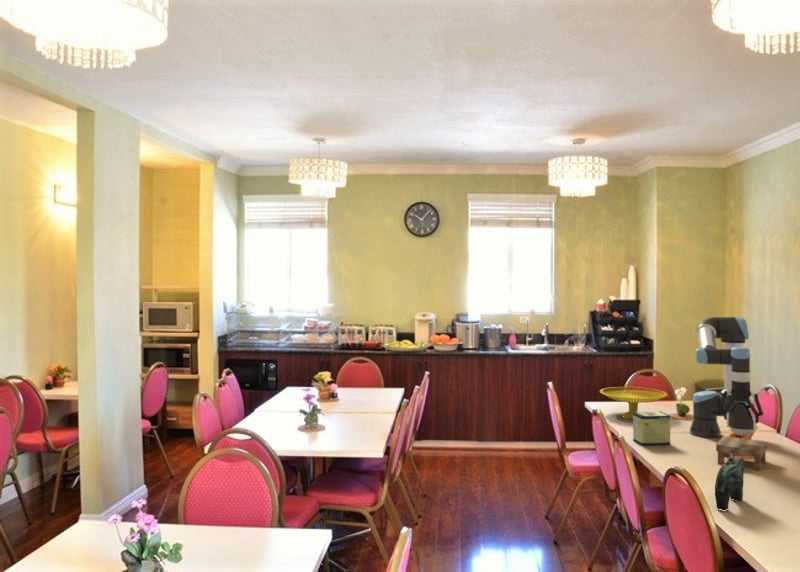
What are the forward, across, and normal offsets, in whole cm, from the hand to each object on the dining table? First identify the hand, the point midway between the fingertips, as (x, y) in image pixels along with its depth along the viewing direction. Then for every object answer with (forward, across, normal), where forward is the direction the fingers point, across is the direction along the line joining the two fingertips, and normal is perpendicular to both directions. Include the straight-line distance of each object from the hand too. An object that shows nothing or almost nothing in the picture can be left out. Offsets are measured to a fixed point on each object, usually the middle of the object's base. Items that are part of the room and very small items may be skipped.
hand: (741, 428), depth 274 cm
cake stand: (+16, +69, -67) cm, 98 cm away
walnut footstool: (+16, 0, 0) cm, 16 cm away
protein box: (+16, +43, -11) cm, 47 cm away
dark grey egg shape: (+3, 0, 0) cm, 3 cm away
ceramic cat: (+16, -5, +60) cm, 62 cm away
